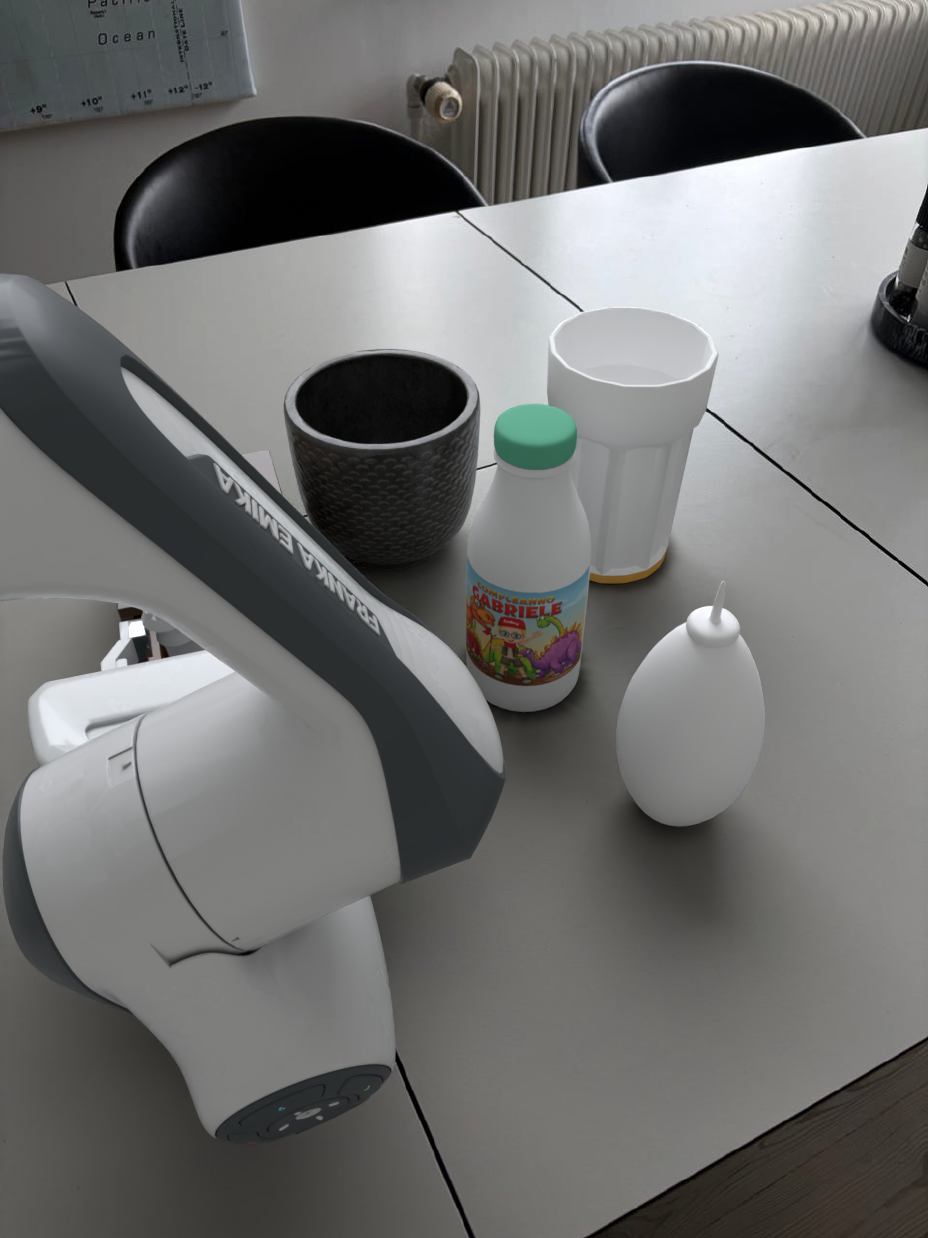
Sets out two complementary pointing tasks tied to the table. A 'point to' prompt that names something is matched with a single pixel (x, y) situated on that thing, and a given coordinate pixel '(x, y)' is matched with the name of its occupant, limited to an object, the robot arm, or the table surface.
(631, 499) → the cup
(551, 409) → the milk bottle
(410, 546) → the planter
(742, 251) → the table surface
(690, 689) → the sauce bottle
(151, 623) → the rook chess piece
